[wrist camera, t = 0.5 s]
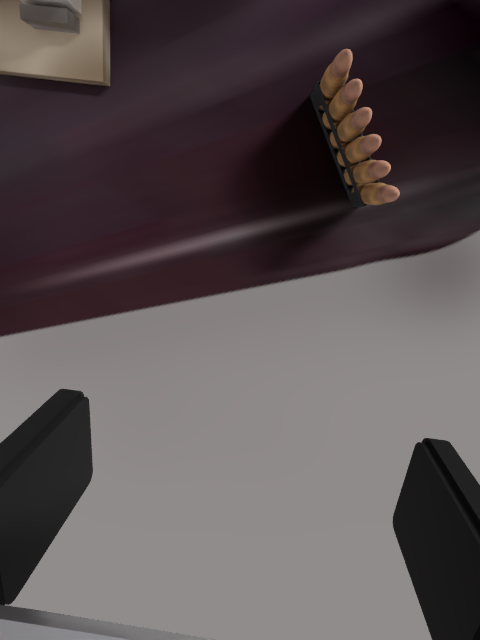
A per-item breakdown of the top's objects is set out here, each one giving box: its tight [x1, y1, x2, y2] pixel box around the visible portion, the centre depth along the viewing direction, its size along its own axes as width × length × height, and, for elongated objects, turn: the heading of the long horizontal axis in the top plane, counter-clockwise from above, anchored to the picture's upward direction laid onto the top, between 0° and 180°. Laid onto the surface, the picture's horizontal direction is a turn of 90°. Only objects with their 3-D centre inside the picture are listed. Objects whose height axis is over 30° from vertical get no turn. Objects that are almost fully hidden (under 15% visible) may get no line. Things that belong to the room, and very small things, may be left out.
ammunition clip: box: [310, 49, 400, 207], centre depth 28 cm, size 11×2×12 cm, turn 26°
